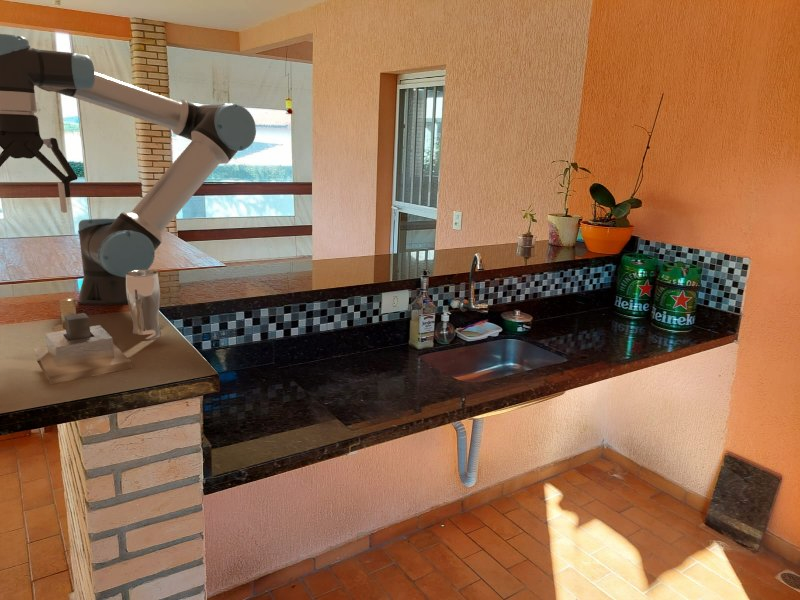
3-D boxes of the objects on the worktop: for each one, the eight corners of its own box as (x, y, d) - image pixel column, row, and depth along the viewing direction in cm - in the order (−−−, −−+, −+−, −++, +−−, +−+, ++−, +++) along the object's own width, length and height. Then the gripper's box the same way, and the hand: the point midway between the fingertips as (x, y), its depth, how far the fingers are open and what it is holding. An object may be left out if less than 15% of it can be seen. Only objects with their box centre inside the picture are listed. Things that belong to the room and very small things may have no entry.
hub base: (107, 342, 130) (103, 301, 127) (131, 368, 116) (127, 322, 114) (33, 355, 121) (27, 311, 119) (50, 384, 108) (44, 334, 105)
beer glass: (168, 337, 135) (164, 273, 131) (138, 343, 130) (132, 277, 126) (154, 330, 139) (150, 268, 135) (124, 336, 134) (119, 272, 130)
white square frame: (101, 342, 125) (99, 325, 124) (114, 356, 118) (112, 337, 117) (47, 352, 119) (45, 333, 118) (57, 367, 112) (55, 347, 111)
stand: (84, 327, 140) (80, 294, 137) (91, 334, 134) (87, 301, 132) (50, 332, 135) (46, 298, 133) (56, 340, 130) (52, 305, 128)
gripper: (77, 116, 136) (87, 208, 142) (-58, 110, 121) (-41, 214, 126) (85, 116, 131) (95, 212, 136) (-56, 109, 115) (-38, 218, 121)
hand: (29, 213), depth 131 cm, fingers open, 13 cm apart
